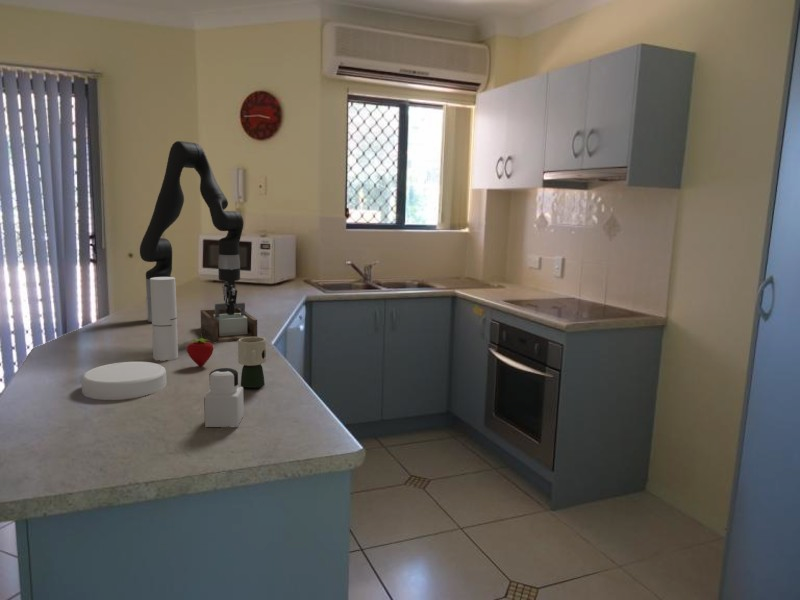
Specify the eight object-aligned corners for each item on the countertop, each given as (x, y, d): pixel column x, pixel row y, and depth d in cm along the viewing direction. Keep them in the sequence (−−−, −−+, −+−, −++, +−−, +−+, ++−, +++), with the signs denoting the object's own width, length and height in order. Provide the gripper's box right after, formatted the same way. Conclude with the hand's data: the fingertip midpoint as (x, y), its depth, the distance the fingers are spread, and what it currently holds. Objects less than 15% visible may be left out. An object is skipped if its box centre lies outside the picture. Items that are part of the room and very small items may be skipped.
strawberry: (187, 364, 171) (186, 332, 170) (213, 362, 174) (212, 330, 172) (187, 370, 166) (186, 336, 164) (214, 368, 168) (213, 335, 167)
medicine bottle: (212, 416, 131) (211, 365, 129) (244, 416, 132) (243, 365, 130) (204, 428, 124) (203, 375, 122) (237, 427, 125) (236, 375, 123)
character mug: (268, 392, 149) (267, 343, 147) (239, 394, 146) (239, 345, 144) (264, 379, 159) (264, 334, 157) (238, 381, 157) (237, 335, 155)
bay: (214, 342, 199) (214, 323, 197) (201, 327, 221) (200, 310, 220) (257, 338, 206) (257, 319, 205) (240, 324, 228) (239, 307, 227)
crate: (218, 336, 203) (218, 306, 201) (213, 330, 212) (212, 302, 210) (248, 333, 208) (247, 304, 206) (241, 328, 217) (240, 300, 215)
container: (108, 375, 160) (107, 359, 159) (179, 378, 159) (178, 362, 158) (64, 399, 140) (63, 381, 139) (145, 402, 139) (144, 384, 139)
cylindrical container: (183, 356, 180) (180, 278, 176) (165, 361, 173) (162, 280, 169) (166, 353, 183) (163, 276, 179) (148, 358, 176) (144, 278, 172)
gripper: (214, 265, 210) (215, 311, 213) (222, 269, 198) (223, 318, 201) (235, 264, 214) (236, 310, 217) (244, 268, 202) (245, 316, 205)
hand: (230, 313), depth 209 cm, fingers closed on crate, 2 cm apart
